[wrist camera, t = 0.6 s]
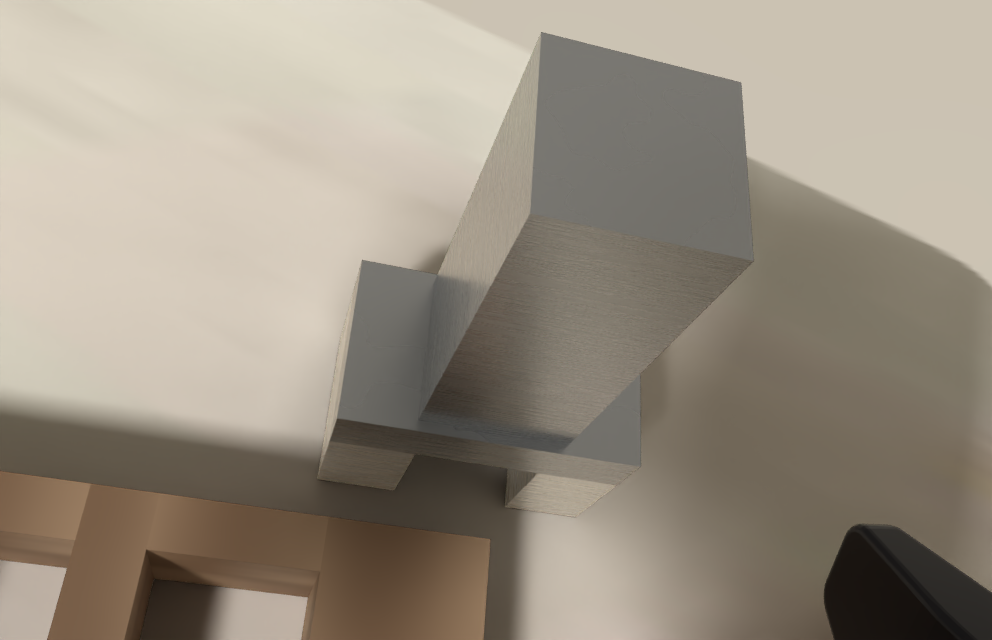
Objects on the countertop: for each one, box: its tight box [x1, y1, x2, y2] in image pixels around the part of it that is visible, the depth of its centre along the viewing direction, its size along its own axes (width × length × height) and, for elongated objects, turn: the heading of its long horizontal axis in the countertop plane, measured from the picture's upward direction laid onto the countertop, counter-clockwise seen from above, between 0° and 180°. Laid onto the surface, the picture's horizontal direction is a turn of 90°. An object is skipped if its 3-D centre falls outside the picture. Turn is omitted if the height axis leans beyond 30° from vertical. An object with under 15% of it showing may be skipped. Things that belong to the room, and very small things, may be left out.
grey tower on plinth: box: [317, 32, 754, 517], centre depth 20 cm, size 7×4×13 cm, turn 86°
